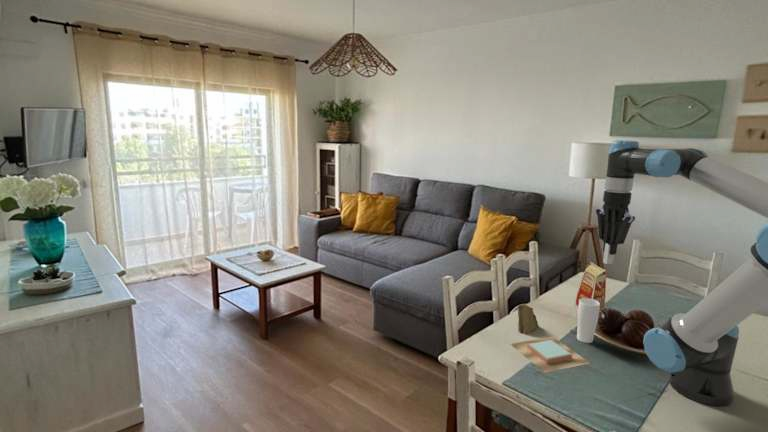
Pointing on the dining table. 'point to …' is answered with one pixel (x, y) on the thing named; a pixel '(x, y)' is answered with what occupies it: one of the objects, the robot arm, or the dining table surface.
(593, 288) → the milk carton
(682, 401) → the dining table surface
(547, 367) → the mat
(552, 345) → the tile
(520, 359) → the dining table surface
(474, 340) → the dining table surface
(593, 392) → the dining table surface
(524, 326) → the rock
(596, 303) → the drinking glass
